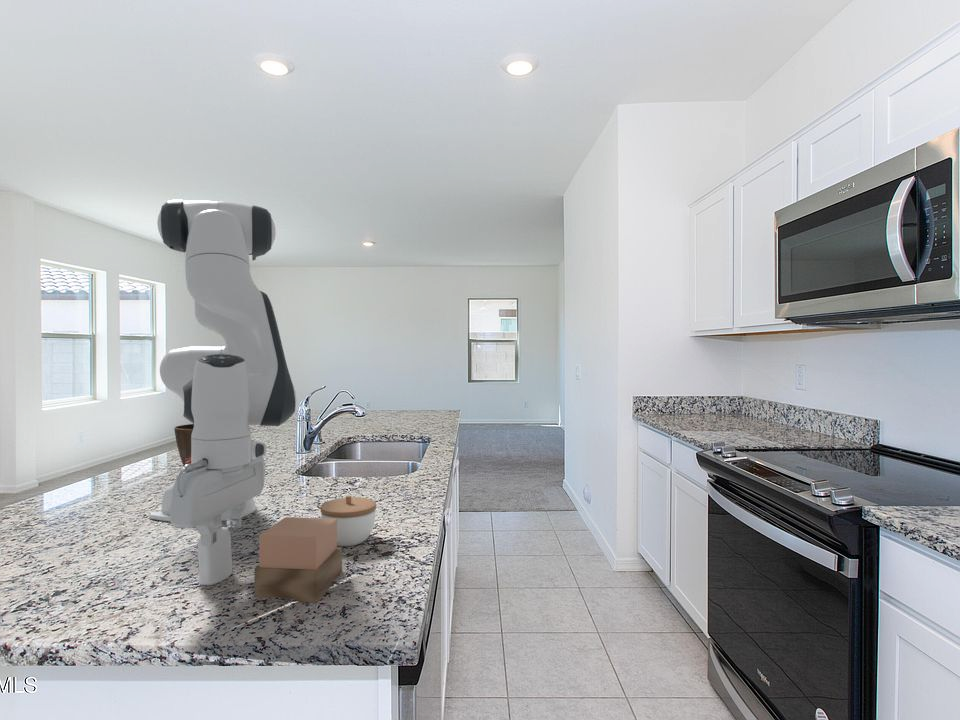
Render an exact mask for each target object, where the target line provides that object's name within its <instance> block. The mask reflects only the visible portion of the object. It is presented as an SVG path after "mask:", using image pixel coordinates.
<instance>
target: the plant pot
mask: <svg viewBox="0 0 960 720" xmlns="http://www.w3.org/2000/svg"><path fill="white" fill-rule="evenodd" d="M193 428H194V424H193V423H189V424H188V423H187V424H182V425H181V424H180V425H176V426H174V427H173V430H174V437H175V441H176V446H177V451H178V453H179V457H180V461H181V463H182V467H183V466H185V465H187V464H190V463H191V462H190V463H185V462H187V461H189V459H187V460H185V459H186V458H190V457H191V435H192V431H193Z"/></svg>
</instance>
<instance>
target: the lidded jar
mask: <svg viewBox="0 0 960 720" xmlns="http://www.w3.org/2000/svg"><path fill="white" fill-rule="evenodd" d="M376 510H377V502H376V501H375V500H373V499H371V498H367V497H357V496H353V497H352V495H346V496H345V497H339V498H335V499H331V500H327V501H325V502H324V503H322V504H321V505H320V517H321V518H328V519H337V547H353V546H357V545H360V544H362V543H364V542H365V541H366V540H367V539H368V538H369V537H370V536H371V533H372V532H373V529H374V527H375V523H376V522H375V520H376Z"/></svg>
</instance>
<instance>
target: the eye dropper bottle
mask: <svg viewBox="0 0 960 720" xmlns="http://www.w3.org/2000/svg"><path fill="white" fill-rule="evenodd" d="M222 523H223V521H222V520H221V514H219V515H217V516H215V517H213V524H211V528H212V530H213V532H217V536H216V539H217V541H216V542H215V543H213V544H212V545H210V546H203V545H201V535H200V534H199V535H200V536H199V537H198V539H197V559H198V560H197V561H198V576H199V577H198V579H199V584H200V586H213V585H216V584H218V583H221V582H223V581H225V580H226V579H228V578H229V577H230V576H232V573H233V557H232V540H231V531H230V530H229V529H228V528H227V526H223V524H222Z"/></svg>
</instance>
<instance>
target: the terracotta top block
mask: <svg viewBox="0 0 960 720" xmlns="http://www.w3.org/2000/svg"><path fill="white" fill-rule="evenodd" d="M258 538H259V540H258V541H259V542H258V543H259V546H258V547H259V548H258V549H259V552H258V554H259V555H258V557H259V559H258V561H259V562H258V565H259V567H261V568H286V569H311V570H316V569H317V568H318V567H319V566H320V565H321V564H322V563H323V562H324V561H325V560H326V559H327V558H328V557H329V556H330V555H331V554H332V553H333V552H334V551H335V550H336V549H337V547H338V546H337V519H328V518H320V517H296V516H295V517H292V516H286V517H284V518H282V519H280V520H279V521H277V522H276V523H275V524H273V525H272V526H270V527H269V528H268V529H266V530H264V531H263V532H262V533H261V534H259V537H258Z"/></svg>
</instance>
